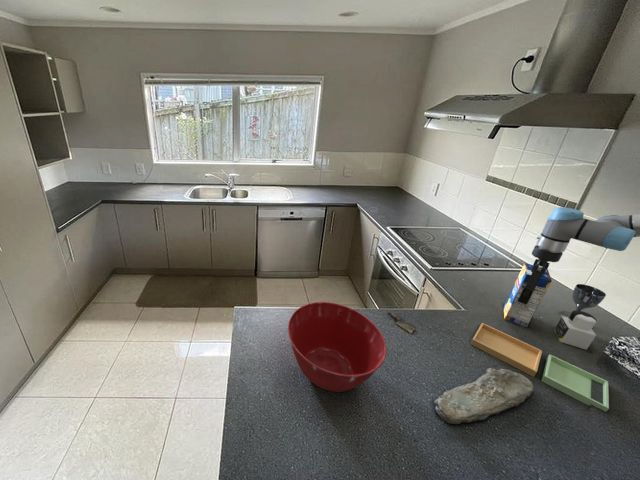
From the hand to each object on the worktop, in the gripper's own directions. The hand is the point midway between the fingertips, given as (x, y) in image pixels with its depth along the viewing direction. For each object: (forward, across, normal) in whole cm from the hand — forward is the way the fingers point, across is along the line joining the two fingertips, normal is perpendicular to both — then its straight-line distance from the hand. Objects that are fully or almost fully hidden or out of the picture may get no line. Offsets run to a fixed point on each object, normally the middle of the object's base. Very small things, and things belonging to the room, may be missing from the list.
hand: (524, 296), depth 112 cm
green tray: (+10, +26, +18) cm, 33 cm away
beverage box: (+10, 0, 0) cm, 10 cm away
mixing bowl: (+10, +82, -34) cm, 89 cm away
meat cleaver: (+10, +42, -29) cm, 52 cm away
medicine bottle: (+10, 0, +16) cm, 19 cm away
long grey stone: (+10, +55, +1) cm, 56 cm away
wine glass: (+10, -17, +16) cm, 25 cm away
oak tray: (+10, +26, +1) cm, 28 cm away
